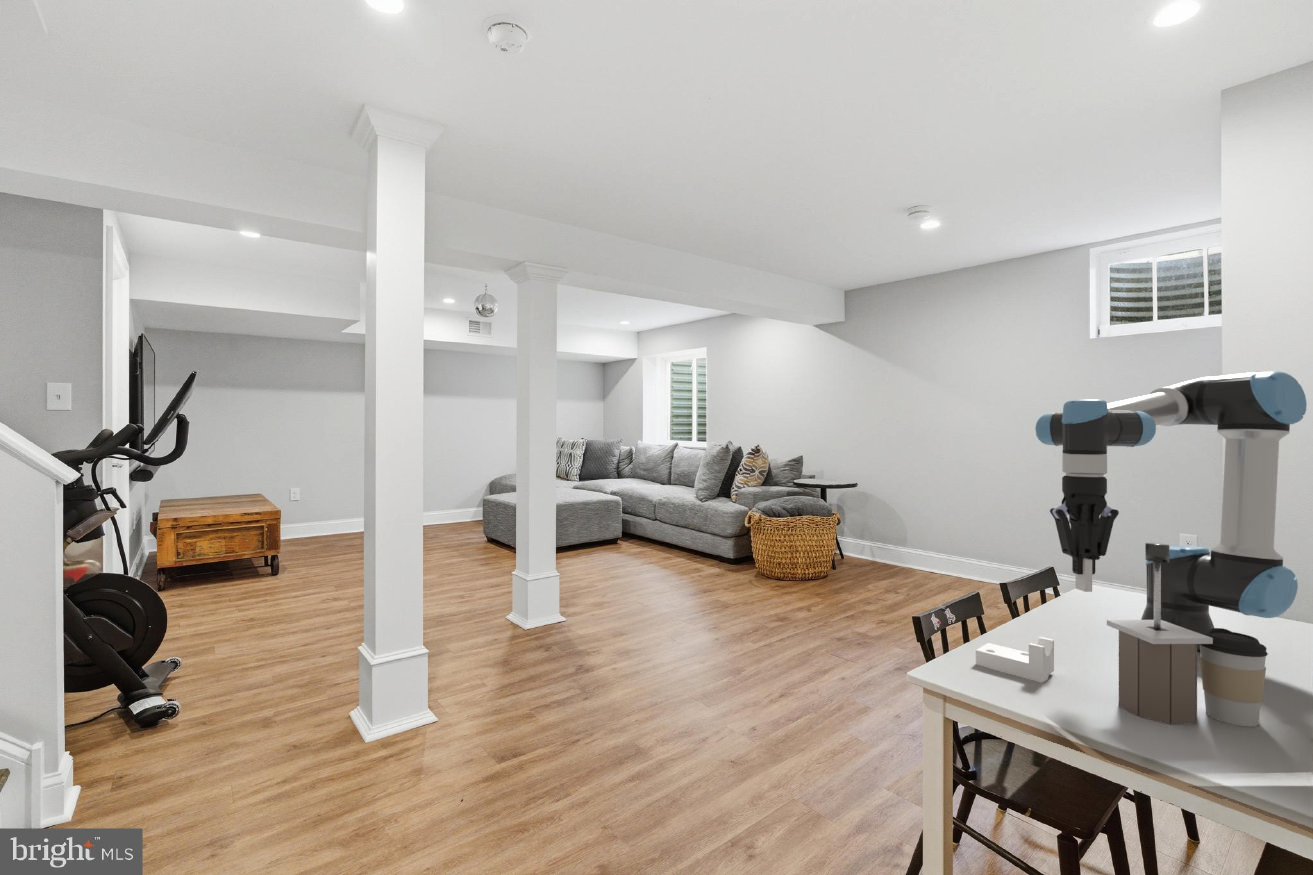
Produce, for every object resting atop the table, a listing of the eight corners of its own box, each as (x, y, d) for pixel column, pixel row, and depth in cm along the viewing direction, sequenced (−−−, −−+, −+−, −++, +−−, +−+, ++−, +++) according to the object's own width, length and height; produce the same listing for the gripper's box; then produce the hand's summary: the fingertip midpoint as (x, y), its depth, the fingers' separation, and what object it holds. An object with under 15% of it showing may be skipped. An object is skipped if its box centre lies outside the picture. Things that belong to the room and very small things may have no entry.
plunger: (1159, 642, 114) (1159, 540, 114) (1193, 656, 107) (1193, 547, 107) (1123, 642, 114) (1123, 541, 114) (1154, 656, 107) (1154, 547, 107)
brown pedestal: (1160, 697, 116) (1160, 619, 116) (1213, 723, 105) (1213, 638, 105) (1105, 697, 116) (1105, 619, 116) (1153, 724, 105) (1153, 638, 105)
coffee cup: (1282, 731, 102) (1282, 643, 102) (1220, 726, 104) (1220, 640, 104) (1242, 708, 111) (1242, 627, 111) (1185, 704, 113) (1185, 624, 113)
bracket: (1053, 675, 128) (1054, 639, 128) (1042, 684, 123) (1042, 647, 123) (988, 658, 137) (988, 625, 137) (975, 666, 133) (975, 631, 133)
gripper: (1101, 474, 127) (1101, 585, 127) (1040, 473, 127) (1040, 585, 127) (1130, 476, 120) (1129, 594, 120) (1065, 476, 120) (1065, 594, 120)
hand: (1083, 589), depth 124 cm, fingers closed
